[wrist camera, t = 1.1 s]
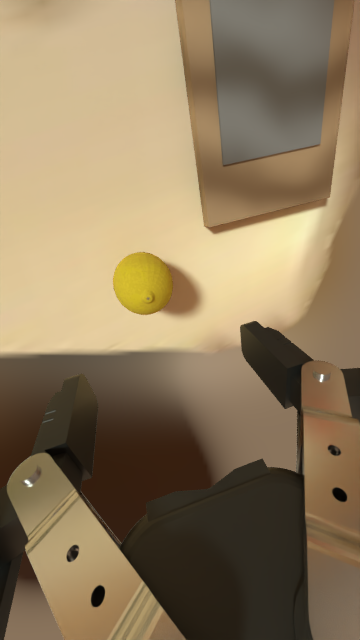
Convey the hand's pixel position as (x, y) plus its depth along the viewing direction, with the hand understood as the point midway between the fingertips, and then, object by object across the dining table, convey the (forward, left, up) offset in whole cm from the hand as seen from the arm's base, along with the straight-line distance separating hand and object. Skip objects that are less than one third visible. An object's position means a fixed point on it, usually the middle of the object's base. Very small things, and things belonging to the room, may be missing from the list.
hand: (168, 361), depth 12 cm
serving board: (-13, +15, -16) cm, 26 cm away
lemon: (0, 0, -16) cm, 16 cm away
